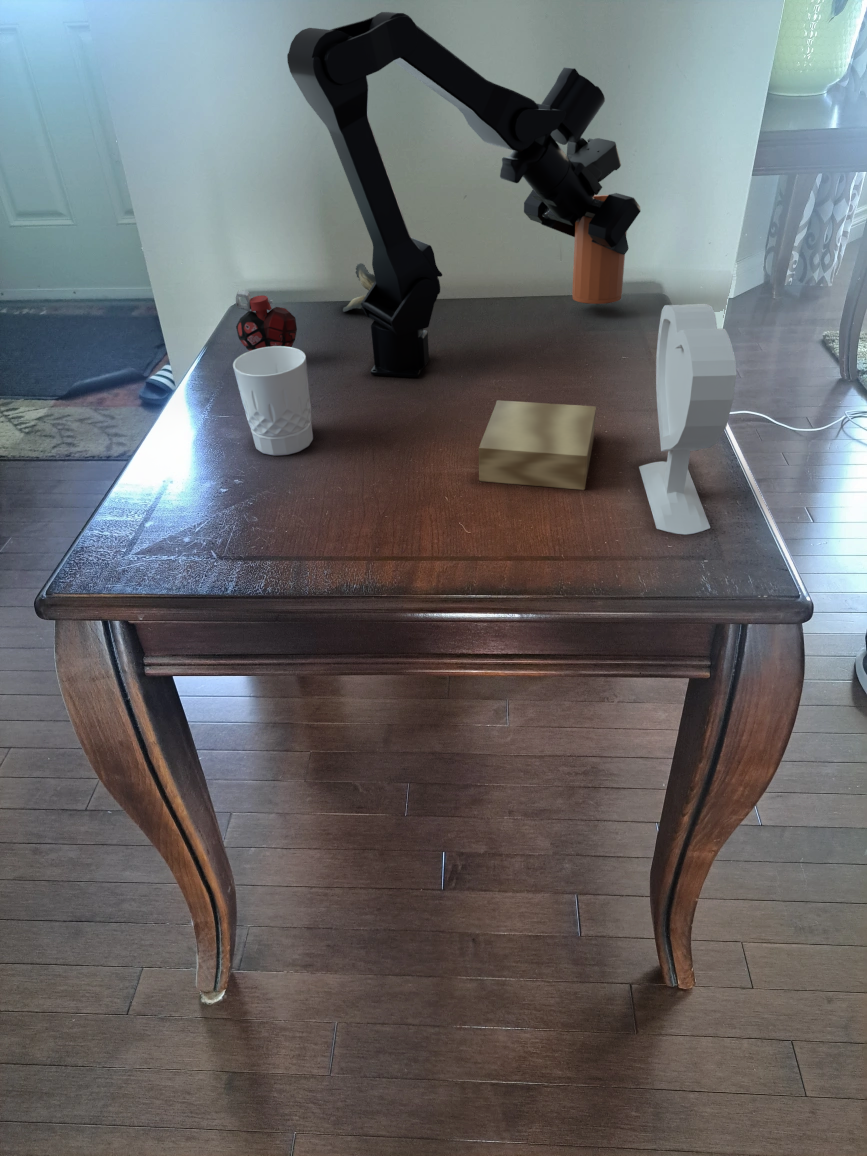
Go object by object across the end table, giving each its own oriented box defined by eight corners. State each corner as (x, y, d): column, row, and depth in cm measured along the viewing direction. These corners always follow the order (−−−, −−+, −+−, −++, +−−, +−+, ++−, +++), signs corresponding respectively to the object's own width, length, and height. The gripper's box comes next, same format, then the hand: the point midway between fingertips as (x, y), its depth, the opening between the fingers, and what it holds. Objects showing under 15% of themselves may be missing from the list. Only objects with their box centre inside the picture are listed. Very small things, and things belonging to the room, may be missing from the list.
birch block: (479, 481, 87) (478, 447, 85) (497, 432, 96) (497, 400, 93) (584, 490, 85) (587, 455, 82) (593, 438, 93) (596, 406, 91)
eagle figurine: (410, 295, 130) (360, 279, 132) (402, 265, 123) (350, 248, 125) (389, 335, 128) (338, 317, 130) (380, 306, 121) (327, 289, 123)
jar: (568, 303, 120) (573, 202, 113) (576, 291, 126) (581, 194, 119) (618, 304, 118) (625, 202, 111) (623, 293, 124) (631, 194, 117)
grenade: (244, 359, 116) (229, 287, 110) (301, 353, 117) (290, 281, 110) (243, 374, 112) (228, 300, 106) (302, 367, 113) (291, 294, 106)
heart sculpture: (636, 457, 90) (655, 290, 78) (683, 456, 89) (709, 289, 78) (660, 540, 77) (687, 357, 66) (715, 540, 77) (751, 355, 66)
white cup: (305, 461, 92) (291, 377, 86) (239, 456, 94) (221, 374, 88) (326, 427, 98) (315, 347, 92) (264, 424, 100) (248, 344, 94)
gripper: (637, 128, 100) (690, 209, 112) (543, 110, 113) (599, 184, 124) (582, 208, 102) (639, 280, 113) (495, 182, 115) (554, 249, 126)
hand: (608, 245), depth 119 cm, fingers closed on jar, 7 cm apart
